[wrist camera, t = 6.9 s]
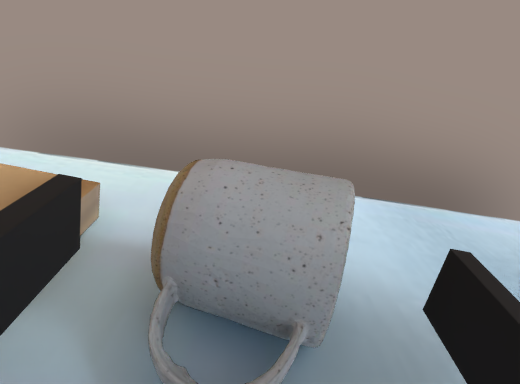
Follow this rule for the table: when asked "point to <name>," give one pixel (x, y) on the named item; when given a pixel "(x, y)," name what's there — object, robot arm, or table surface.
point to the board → (25, 180)
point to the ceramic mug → (250, 254)
